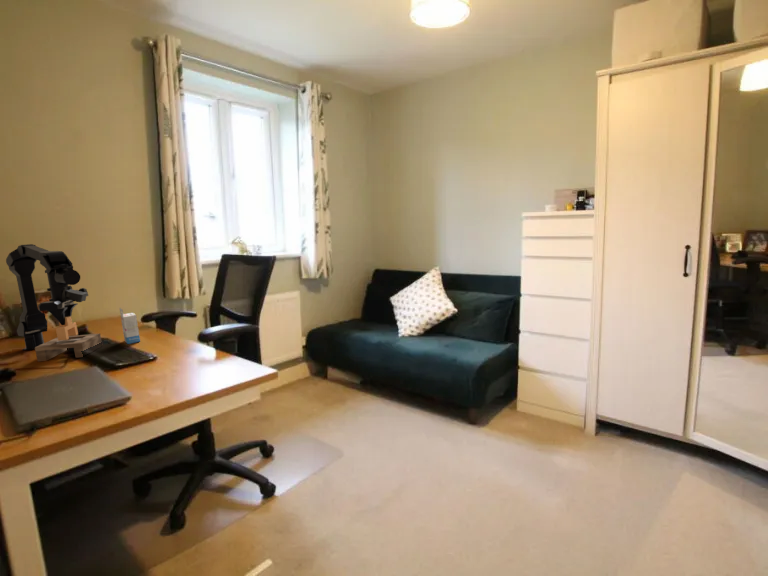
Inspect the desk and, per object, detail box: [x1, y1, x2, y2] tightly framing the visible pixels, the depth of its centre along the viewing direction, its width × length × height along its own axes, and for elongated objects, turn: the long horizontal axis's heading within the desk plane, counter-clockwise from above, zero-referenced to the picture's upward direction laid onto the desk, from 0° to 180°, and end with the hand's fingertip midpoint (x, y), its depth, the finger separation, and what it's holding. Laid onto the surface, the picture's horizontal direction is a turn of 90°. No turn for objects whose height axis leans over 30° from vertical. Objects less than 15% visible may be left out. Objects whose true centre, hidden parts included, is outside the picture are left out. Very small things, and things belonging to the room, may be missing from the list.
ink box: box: [119, 307, 141, 345], centre depth 177 cm, size 8×5×15 cm, turn 39°
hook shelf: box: [34, 333, 103, 362], centre depth 164 cm, size 14×16×6 cm
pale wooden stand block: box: [55, 315, 79, 341], centre depth 163 cm, size 8×3×8 cm, turn 9°
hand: (65, 323), depth 163 cm, fingers closed on pale wooden stand block, 3 cm apart
